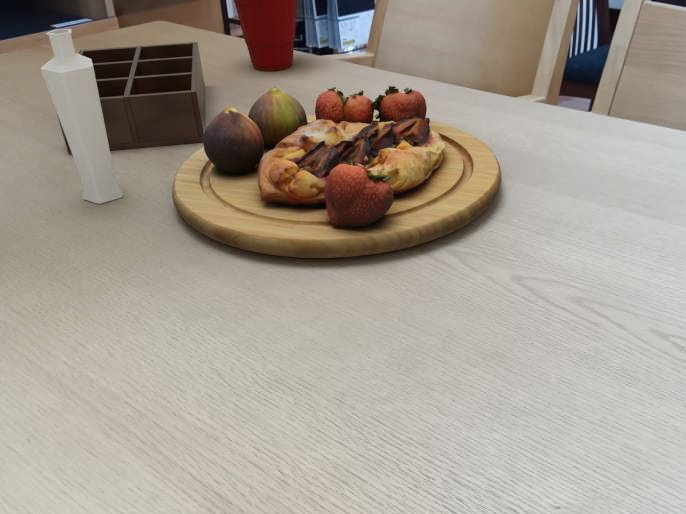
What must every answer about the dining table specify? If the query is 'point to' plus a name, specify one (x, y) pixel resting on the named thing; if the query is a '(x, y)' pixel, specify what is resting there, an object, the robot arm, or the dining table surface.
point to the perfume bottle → (81, 116)
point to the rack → (150, 94)
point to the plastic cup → (268, 31)
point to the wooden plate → (334, 176)
